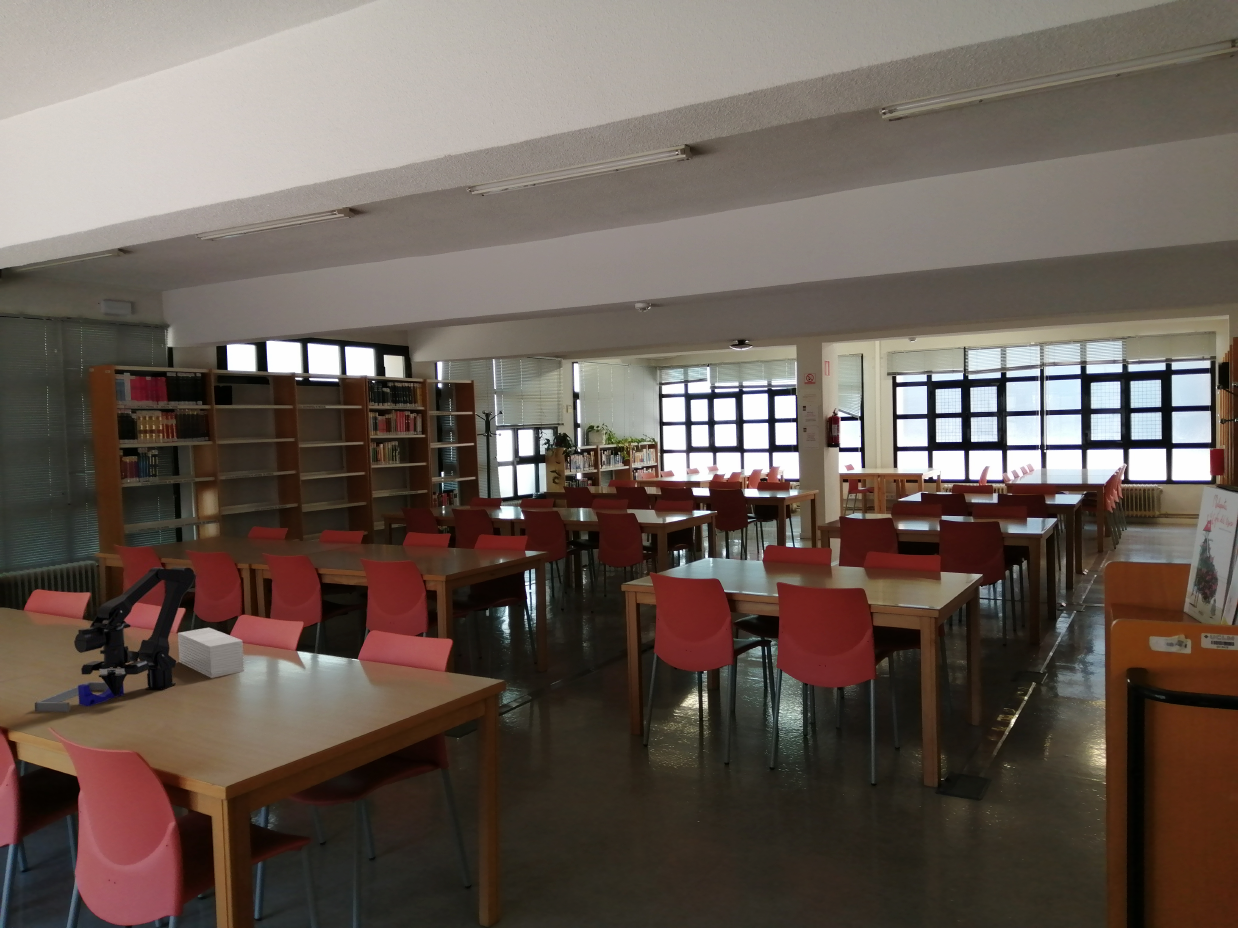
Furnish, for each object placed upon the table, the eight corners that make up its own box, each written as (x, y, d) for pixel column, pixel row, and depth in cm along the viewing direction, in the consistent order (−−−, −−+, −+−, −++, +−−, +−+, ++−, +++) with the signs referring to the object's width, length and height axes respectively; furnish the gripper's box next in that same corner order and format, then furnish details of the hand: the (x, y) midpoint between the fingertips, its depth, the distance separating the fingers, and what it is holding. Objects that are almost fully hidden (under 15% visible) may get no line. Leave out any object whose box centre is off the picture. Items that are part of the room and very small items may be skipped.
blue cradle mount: (87, 706, 263) (86, 686, 263) (79, 704, 265) (78, 685, 265) (126, 695, 273) (125, 676, 273) (118, 693, 275) (117, 674, 275)
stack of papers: (244, 671, 297) (242, 640, 297) (211, 678, 290) (209, 646, 290) (210, 656, 320) (208, 627, 320) (179, 662, 313) (177, 632, 313)
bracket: (120, 689, 279) (119, 681, 279) (67, 711, 258) (67, 703, 258) (89, 689, 281) (89, 681, 281) (35, 711, 259) (34, 702, 259)
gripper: (159, 638, 274) (161, 687, 274) (104, 638, 276) (107, 687, 277) (135, 647, 263) (137, 698, 263) (78, 647, 265) (81, 698, 266)
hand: (116, 695), depth 268 cm, fingers closed
